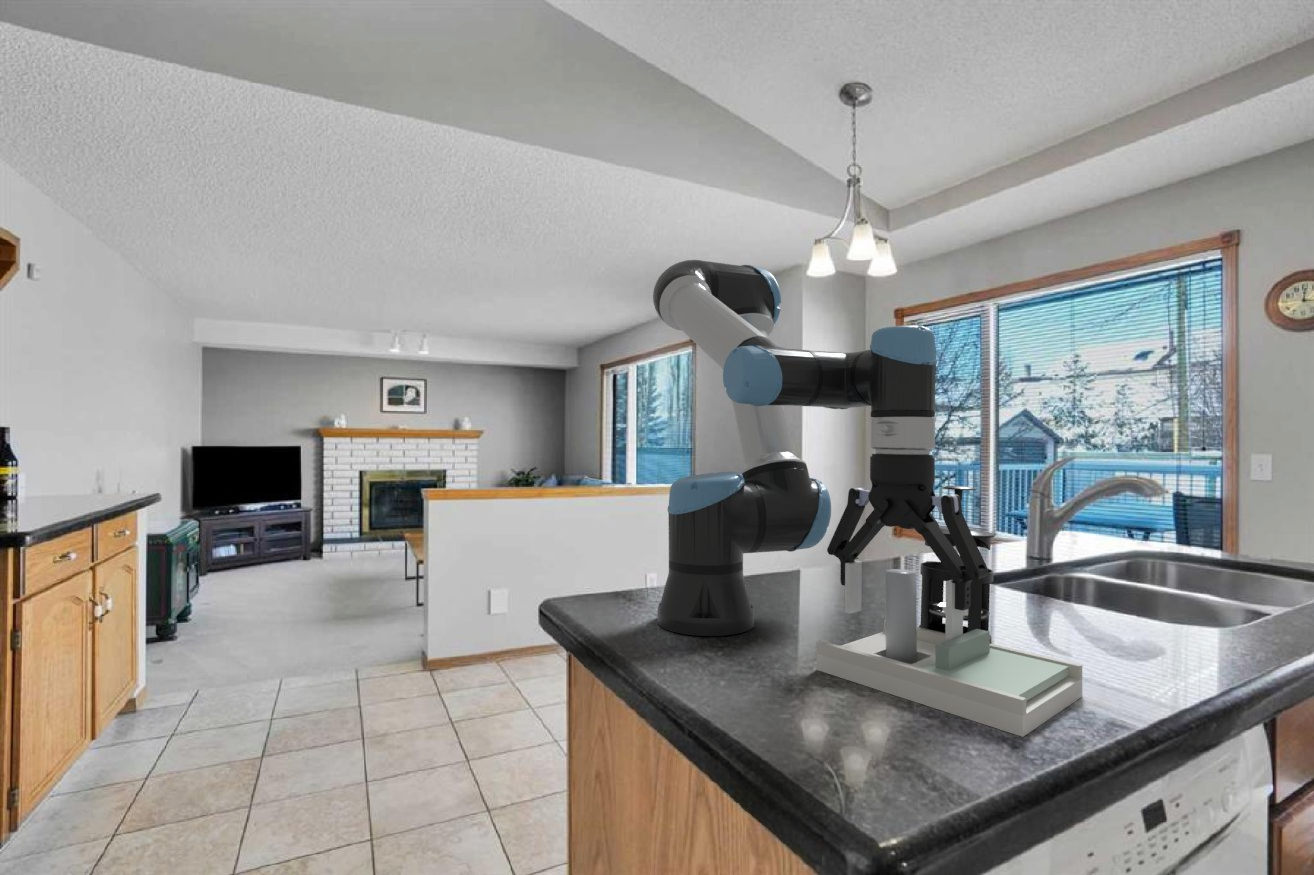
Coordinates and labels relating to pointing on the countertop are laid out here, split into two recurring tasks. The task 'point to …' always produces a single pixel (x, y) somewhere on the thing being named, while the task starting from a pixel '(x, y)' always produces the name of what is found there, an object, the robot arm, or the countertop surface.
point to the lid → (994, 666)
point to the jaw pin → (901, 615)
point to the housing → (947, 682)
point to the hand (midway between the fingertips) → (900, 623)
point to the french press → (937, 574)
